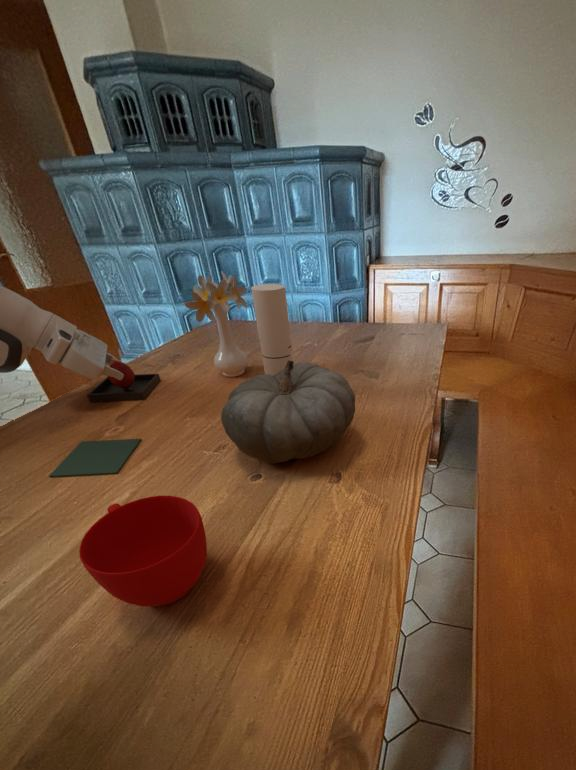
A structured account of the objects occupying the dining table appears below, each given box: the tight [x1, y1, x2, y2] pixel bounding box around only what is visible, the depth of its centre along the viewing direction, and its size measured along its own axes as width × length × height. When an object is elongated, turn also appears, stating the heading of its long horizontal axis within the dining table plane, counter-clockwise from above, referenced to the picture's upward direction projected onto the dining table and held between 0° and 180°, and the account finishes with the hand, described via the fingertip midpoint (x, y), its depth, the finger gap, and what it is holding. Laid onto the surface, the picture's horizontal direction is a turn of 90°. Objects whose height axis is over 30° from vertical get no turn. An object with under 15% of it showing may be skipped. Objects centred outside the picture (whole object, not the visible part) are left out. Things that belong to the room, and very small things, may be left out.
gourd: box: [220, 360, 356, 464], centre depth 73 cm, size 25×25×17 cm
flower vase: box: [184, 270, 249, 378], centre depth 101 cm, size 13×18×25 cm
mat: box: [48, 438, 142, 478], centre depth 75 cm, size 12×12×1 cm
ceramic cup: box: [78, 495, 208, 607], centre depth 49 cm, size 13×17×10 cm
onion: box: [107, 358, 136, 390], centre depth 97 cm, size 6×6×8 cm
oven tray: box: [86, 373, 162, 403], centre depth 100 cm, size 13×12×2 cm
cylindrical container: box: [250, 283, 295, 376], centre depth 89 cm, size 7×7×25 cm
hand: (123, 372), depth 97 cm, fingers closed on onion, 6 cm apart
